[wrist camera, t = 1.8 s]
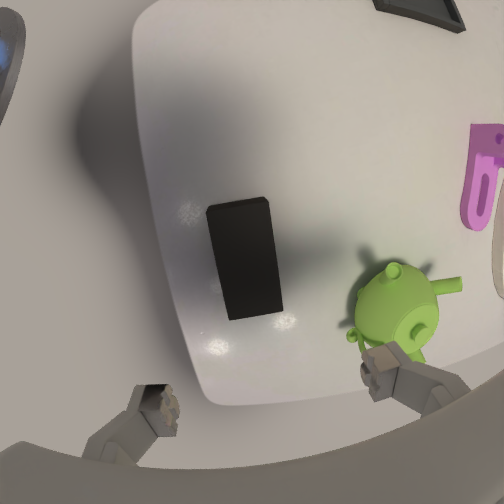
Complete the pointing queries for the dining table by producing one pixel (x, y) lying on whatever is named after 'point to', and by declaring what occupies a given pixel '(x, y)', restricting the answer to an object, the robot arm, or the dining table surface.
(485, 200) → the bracket
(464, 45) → the dining table surface
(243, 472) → the robot arm
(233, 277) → the black rectangular block
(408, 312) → the teapot
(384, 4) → the base tray
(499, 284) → the plate
